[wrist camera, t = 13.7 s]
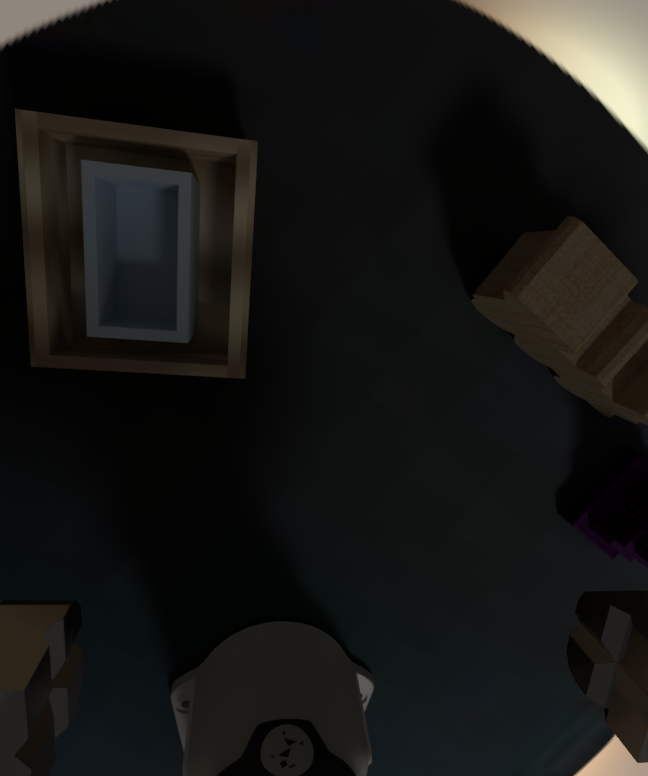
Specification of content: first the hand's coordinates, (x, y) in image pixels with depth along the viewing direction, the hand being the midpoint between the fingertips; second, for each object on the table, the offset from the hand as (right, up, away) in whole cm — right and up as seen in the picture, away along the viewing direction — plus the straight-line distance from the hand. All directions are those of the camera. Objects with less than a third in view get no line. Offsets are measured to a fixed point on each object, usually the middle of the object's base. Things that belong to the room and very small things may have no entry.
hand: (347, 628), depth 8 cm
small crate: (-12, +13, +26) cm, 31 cm away
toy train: (+18, +9, +32) cm, 38 cm away
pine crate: (-12, +13, +26) cm, 32 cm away
